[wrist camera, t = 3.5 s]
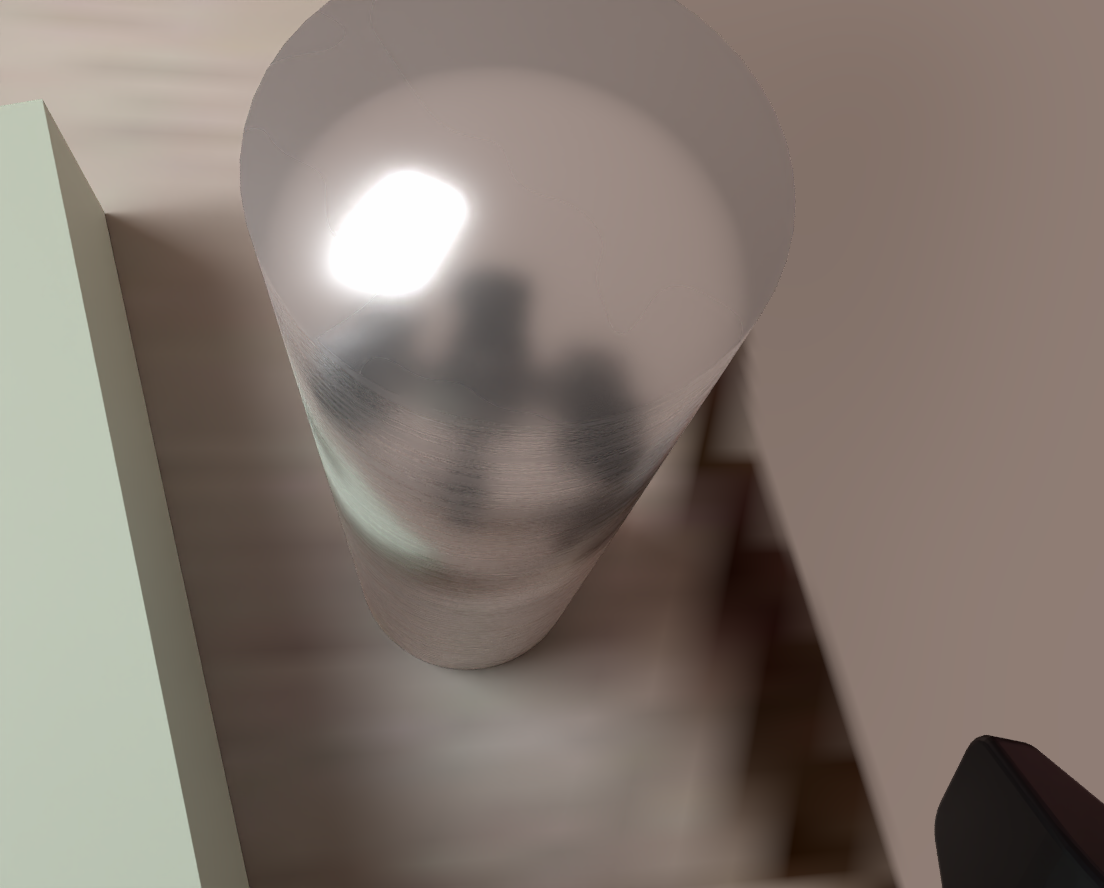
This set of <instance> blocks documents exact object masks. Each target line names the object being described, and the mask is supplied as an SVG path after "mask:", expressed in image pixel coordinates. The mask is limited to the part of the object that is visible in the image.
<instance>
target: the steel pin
mask: <svg viewBox="0 0 1104 888" xmlns="http://www.w3.org/2000/svg"><path fill="white" fill-rule="evenodd" d="M240 190H241V197H242V203H243V208H244V214H245V219H246V224H247V228H248V231H249V234H250V237H251V240H252V243H253V247H254V250H255V253H256V256H257V259H258V262H259V265H260V269H261V272H262V275H263V278H264V281H265V284H266V288H267V291H268V294H269V297H270V300H271V303H272V306H273V310H274V313H275V316H276V319H277V322H278V325H279V329H280V332H281V335H282V338H283V341H284V344H285V347H286V351H287V354H288V357H289V360H290V363H291V366H292V369H293V373H294V376H295V379H296V382H297V385H298V388H299V392H300V395H301V398H302V401H303V404H304V407H305V410H306V414H307V417H308V420H309V423H310V426H311V429H312V433H313V436H314V439H315V442H316V445H317V448H318V451H319V455H320V458H321V461H322V464H323V467H324V470H325V474H326V477H327V480H328V483H329V486H330V489H331V492H332V496H333V499H334V502H335V505H336V508H337V511H338V514H339V518H340V521H341V524H342V527H343V530H344V533H345V537H346V540H347V543H348V546H349V549H350V552H351V555H352V559H353V562H354V565H355V568H356V571H357V574H358V578H359V581H360V584H361V587H362V590H363V593H364V596H365V599H366V602H367V605H368V607H369V609H370V611H371V613H372V615H373V617H374V618H375V620H376V621H377V623H378V624H379V626H380V627H381V629H382V630H383V631H384V632H385V633H386V634H387V635H388V636H389V637H390V639H391V640H392V641H394V642H395V643H396V644H397V645H398V646H400V647H401V648H402V649H403V650H405V651H407V652H408V653H410V654H411V655H413V656H415V657H417V658H419V659H421V660H423V661H425V662H428V663H431V664H434V665H437V666H441V667H446V668H452V669H467V670H472V669H481V668H488V667H492V666H496V665H500V664H502V663H505V662H508V661H510V660H513V659H515V658H516V657H518V656H520V655H522V654H524V653H525V652H527V651H528V650H530V649H531V648H532V647H534V646H535V645H536V644H537V643H539V642H540V641H541V640H542V639H543V638H544V637H545V636H546V635H547V634H548V632H549V631H550V630H551V629H552V627H553V626H554V625H555V624H556V622H557V621H558V619H559V618H560V616H561V615H562V613H563V612H564V610H565V609H566V607H567V606H568V604H569V603H570V601H571V600H572V598H573V597H574V595H575V594H576V592H577V591H578V589H579V588H580V586H581V585H582V583H583V582H584V580H585V579H586V577H587V576H588V574H589V573H590V571H591V570H592V568H593V567H594V565H595V564H596V562H597V561H598V559H599V558H600V556H601V555H602V553H603V552H604V550H605V549H606V547H607V546H608V544H609V543H610V541H611V540H612V538H613V537H614V535H615V534H616V532H617V531H618V529H619V528H620V526H621V525H622V523H623V522H624V520H625V519H626V517H627V516H628V514H629V513H630V511H631V510H632V508H633V507H634V505H635V504H636V502H637V501H638V499H639V498H640V496H641V495H642V493H643V492H644V490H645V489H646V487H647V486H648V484H649V483H650V481H651V480H652V478H653V476H654V475H655V473H656V472H657V470H658V469H659V467H660V466H661V464H662V463H663V461H664V460H665V458H666V457H667V455H668V454H669V452H670V451H671V449H672V448H673V446H674V445H675V443H676V442H677V440H678V439H679V437H680V436H681V434H682V433H683V431H684V430H685V428H686V427H687V425H688V424H689V422H690V421H691V419H692V418H693V416H694V415H695V413H696V412H697V410H698V409H699V407H700V406H701V404H702V403H703V401H704V400H705V398H706V397H707V395H708V394H709V392H710V391H711V389H712V388H713V386H714V385H715V383H716V382H717V380H718V379H719V377H720V376H721V374H722V373H723V371H724V370H725V368H726V367H727V365H728V364H729V362H730V361H731V359H732V358H733V356H734V355H735V353H736V352H737V350H738V349H739V347H740V346H741V344H742V343H743V341H744V340H745V338H746V337H747V335H748V334H749V332H750V331H751V329H752V328H753V326H754V325H755V323H756V322H757V320H758V319H759V317H760V315H761V314H762V312H763V310H764V309H765V307H766V305H767V304H768V302H769V300H770V298H771V297H772V295H773V293H774V292H775V289H776V287H777V284H778V282H779V279H780V277H781V274H782V272H783V269H784V267H785V264H786V262H787V257H788V253H789V249H790V244H791V239H792V235H793V230H794V215H795V214H794V213H795V189H794V177H793V168H792V164H791V160H790V155H789V151H788V146H787V142H786V139H785V136H784V134H783V131H782V129H781V126H780V123H779V121H778V118H777V115H776V113H775V111H774V109H773V107H772V105H771V103H770V101H769V100H768V98H767V96H766V94H765V93H764V90H763V88H762V87H761V85H760V84H759V82H758V81H757V79H756V78H755V77H754V75H753V74H752V73H751V71H750V69H749V68H748V67H747V65H746V64H745V62H744V61H743V60H742V59H741V57H740V56H739V55H738V54H737V53H736V52H735V51H734V50H733V49H732V48H731V46H730V45H729V44H728V43H727V42H726V41H725V40H724V39H723V38H722V37H721V36H720V35H719V34H718V33H717V32H716V31H715V30H713V29H712V28H711V27H710V26H709V25H707V23H705V22H704V21H703V20H702V19H701V18H700V17H698V16H697V15H696V14H695V13H693V12H692V11H690V10H689V9H687V8H686V7H685V6H683V5H682V4H680V3H679V2H677V1H676V0H330V1H329V2H328V3H326V4H325V5H324V6H323V7H322V8H320V9H319V10H318V11H317V12H316V13H314V14H313V15H312V16H311V17H310V18H308V19H307V20H306V21H305V22H304V23H303V24H302V25H301V26H300V28H299V29H298V30H297V31H296V32H295V33H294V34H293V35H292V36H291V37H290V38H289V40H288V41H287V42H286V43H285V44H284V45H283V47H282V48H281V50H280V51H279V53H278V54H277V56H276V57H275V59H274V60H273V62H272V63H271V64H270V66H269V67H268V69H267V70H266V73H265V75H264V77H263V79H262V81H261V83H260V85H259V87H258V89H257V91H256V93H255V95H254V98H253V100H252V104H251V107H250V110H249V114H248V117H247V120H246V124H245V127H244V133H243V140H242V147H241V155H240Z"/></svg>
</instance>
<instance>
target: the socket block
mask: <svg viewBox="0 0 1104 888" xmlns="http://www.w3.org/2000/svg"><path fill="white" fill-rule="evenodd" d="M0 888H249V884H248V879H247V874H246V870H245V865H244V860H243V856H242V851H241V846H240V842H239V837H238V833H237V828H236V823H235V819H234V814H233V809H232V805H231V800H230V795H229V791H228V786H227V781H226V777H225V772H224V767H223V763H222V758H221V753H220V749H219V744H218V739H217V735H216V730H215V725H214V721H213V716H212V712H211V707H210V702H209V698H208V693H207V688H206V684H205V679H204V674H203V670H202V665H201V660H200V656H199V651H198V646H197V642H196V637H195V632H194V628H193V623H192V618H191V614H190V609H189V605H188V600H187V595H186V591H185V586H184V581H183V577H182V572H181V567H180V563H179V558H178V553H177V549H176V544H175V539H174V535H173V530H172V525H171V521H170V516H169V511H168V507H167V502H166V497H165V493H164V488H163V484H162V479H161V474H160V470H159V465H158V460H157V456H156V451H155V446H154V442H153V437H152V432H151V428H150V423H149V418H148V414H147V409H146V404H145V400H144V395H143V390H142V386H141V381H140V377H139V372H138V367H137V363H136V358H135V353H134V349H133V344H132V339H131V335H130V330H129V325H128V321H127V316H126V311H125V307H124V302H123V297H122V293H121V288H120V283H119V279H118V274H117V269H116V265H115V260H114V256H113V251H112V246H111V242H110V237H109V232H108V228H107V223H106V218H105V214H104V211H103V209H102V207H101V205H100V203H99V201H98V200H97V198H96V196H95V194H94V192H93V191H92V189H91V187H90V185H89V183H88V181H87V180H86V178H85V176H84V174H83V172H82V170H81V169H80V167H79V165H78V163H77V161H76V160H75V158H74V156H73V154H72V152H71V150H70V149H69V147H68V145H67V143H66V141H65V139H64V138H63V136H62V134H61V132H60V130H59V128H58V127H57V125H56V123H55V121H54V119H53V118H52V116H51V114H50V112H49V110H48V108H47V107H46V105H45V103H44V101H43V99H38V100H32V101H26V102H21V103H15V104H10V105H4V106H0Z"/></svg>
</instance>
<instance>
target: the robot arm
mask: <svg viewBox="0 0 1104 888" xmlns="http://www.w3.org/2000/svg"><path fill="white" fill-rule="evenodd" d="M935 842H936V849H937V856H938V862H939V868H940V875H941V881H942V888H1104V804H1103V803H1102V802H1101V801H1099V800H1098V799H1097V798H1096V797H1095V796H1094V795H1092V794H1091V793H1090V792H1088V791H1087V790H1086V789H1085V788H1084V787H1083V786H1081V785H1080V784H1079V783H1078V782H1077V781H1075V780H1074V779H1073V778H1072V777H1070V776H1069V775H1068V774H1067V773H1066V772H1064V771H1063V770H1062V769H1061V768H1060V767H1058V766H1057V765H1056V764H1054V763H1053V762H1052V761H1051V760H1050V759H1048V758H1047V757H1046V756H1045V755H1043V754H1042V753H1041V752H1040V751H1039V750H1038V749H1036V748H1035V747H1033V746H1032V745H1030V744H1027V743H1024V742H1019V741H1014V740H1010V739H1005V738H999V737H994V736H990V735H983V736H981V737H978V738H976V739H975V740H974V741H973V742H972V743H971V744H970V745H969V747H968V749H967V750H966V752H965V754H964V756H963V758H962V760H961V762H960V764H959V766H958V768H957V770H956V772H955V774H954V776H953V778H952V780H951V782H950V784H949V786H948V788H947V790H946V792H945V794H944V796H943V798H942V800H941V803H940V805H939V807H938V810H937V814H936V819H935Z"/></svg>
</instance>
